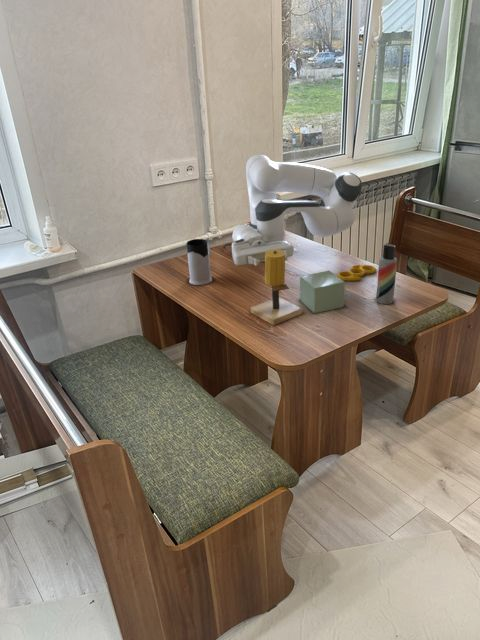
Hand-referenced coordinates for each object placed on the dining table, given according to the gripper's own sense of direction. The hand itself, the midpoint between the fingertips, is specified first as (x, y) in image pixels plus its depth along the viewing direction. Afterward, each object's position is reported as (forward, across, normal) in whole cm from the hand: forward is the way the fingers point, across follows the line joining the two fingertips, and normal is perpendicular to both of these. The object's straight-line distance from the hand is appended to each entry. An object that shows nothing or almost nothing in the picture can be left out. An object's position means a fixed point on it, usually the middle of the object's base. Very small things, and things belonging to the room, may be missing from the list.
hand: (271, 260), depth 168 cm
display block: (+2, -17, -18) cm, 25 cm away
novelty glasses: (-15, -40, -18) cm, 46 cm away
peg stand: (+2, 0, -18) cm, 18 cm away
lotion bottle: (+9, -37, -18) cm, 42 cm away
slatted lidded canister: (+3, 0, -7) cm, 7 cm away
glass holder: (-38, +13, -18) cm, 44 cm away
